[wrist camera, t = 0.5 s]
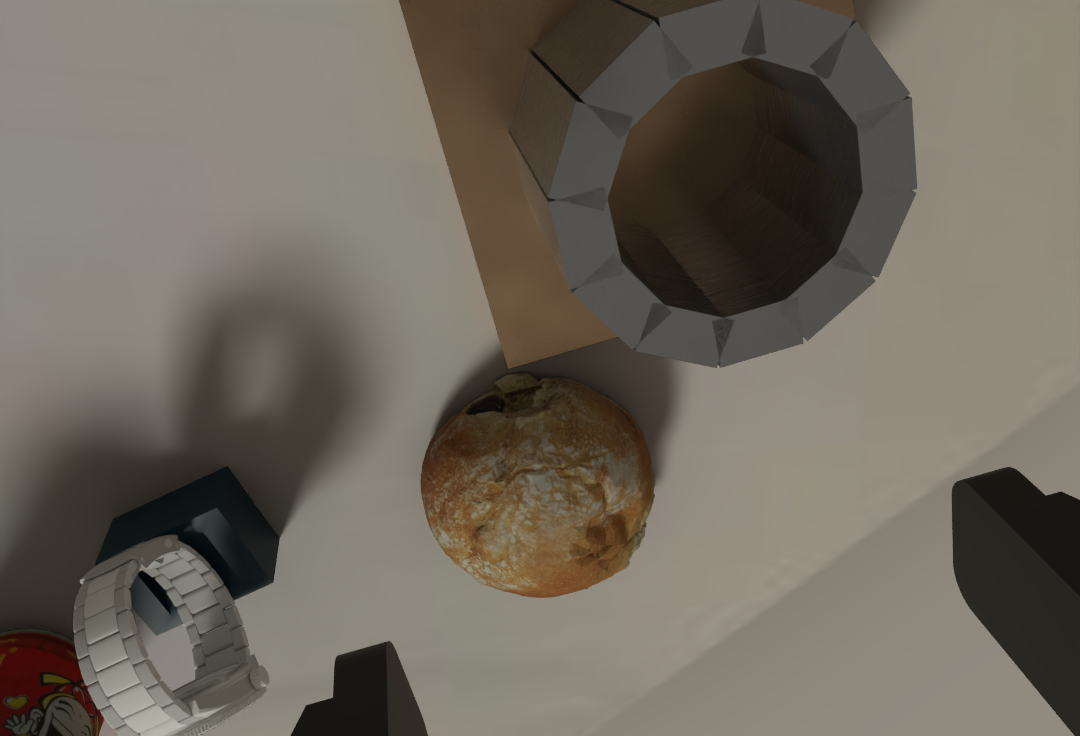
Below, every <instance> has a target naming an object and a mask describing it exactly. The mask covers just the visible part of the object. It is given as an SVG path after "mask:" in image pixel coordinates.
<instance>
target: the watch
mask: <svg viewBox="0 0 1080 736" xmlns="http://www.w3.org/2000/svg"><path fill="white" fill-rule="evenodd" d="M279 539H280V538H279V537H278V536H277V534H276V533H275V532H274V530H273V529H272V527H271V526H270V525H269V523H268V522H267V520H266V519H265V518H264V516H263V515H262V514H261V512H260V511H259V509H258V508H257V507H256V505H255V504H254V502H253V501H252V500H251V498H250V497H249V496H248V494H247V493H246V491H245V490H244V489H243V487H242V486H241V484H240V483H239V482H238V480H237V479H236V478H235V476H234V475H233V473H232V472H231V471H230V469H229V468H228V466H227V467H225V468H223V469H221V470H218V471H216V472H214V473H212V474H210V475H208V476H206V477H203V478H201V479H199V480H197V481H195V482H193V483H190V484H188V485H186V486H184V487H182V488H180V489H177V490H175V491H173V492H171V493H169V494H167V495H165V496H162V497H160V498H158V499H156V500H154V501H152V502H149V503H147V504H145V505H143V506H141V507H139V508H137V509H134V510H132V511H130V512H128V513H126V514H124V515H121V516H119V517H117V518H115V519H113V521H112V524H111V526H110V528H109V531H108V533H107V536H106V538H105V541H104V543H103V546H102V548H101V550H100V553H99V555H98V558H97V560H96V563H95V565H96V566H95V567H94V568H92V569H91V570H90V571H89V572H88V573H86V574H85V575H84V576H83V577H82V578H81V579H80V583H81V584H82V586H81V587H80V589H79V593H78V595H77V597H76V601H75V605H74V608H75V610H74V617H73V629H74V633H76V634H75V635H74V640H75V647H76V653H77V657H78V659H81V660H79V667H80V670H81V674H82V677H83V679H84V682H85V684H86V685H87V686H88V685H90V684H92V683H94V684H92V685H90V686H88V691H89V693H90V695H91V697H92V699H93V701H94V703H95V705H96V707H97V708H98V709H99V710H100V709H101V710H100V712H101V714H102V715H103V717H104V718H105V720H106V721H107V722H108V724H109V725H110V726H111V727H112V728H113V729H115V728H116V729H115V730H116V732H117V733H118V736H200V735H202V734H204V733H206V732H207V731H209V730H211V729H213V728H215V727H217V726H218V725H220V724H222V723H224V722H225V721H227V720H229V719H230V718H232V717H234V716H235V715H237V714H238V713H240V712H241V711H243V710H244V709H246V708H247V707H249V706H250V705H252V704H253V703H255V702H256V701H257V700H258V699H259V698H261V697H262V696H263V694H264V693H265V692H266V690H267V689H266V687H265V686H267V685H268V684H269V675H268V672H267V671H266V669H265V668H264V667H263V666H258V662H257V660H256V658H255V655H254V654H253V655H251V656H250V651H249V648H247V647H249V644H248V640H247V636H246V633H245V630H244V627H240V626H243V622H242V620H241V617H240V614H239V612H238V610H237V608H236V606H235V605H234V604H235V602H234V600H236V599H238V598H240V597H243V596H245V595H247V594H249V593H251V592H254V591H256V590H258V589H260V588H262V587H265V586H267V585H269V584H271V583H273V581H274V574H275V567H276V560H277V553H278V546H279ZM232 605H234V606H232ZM230 606H232V607H230ZM227 607H230V608H227ZM132 608H133V609H134V610H135V611H136V612H137V613H138V615H139V616H140V617H141V618H142V619H143V620H144V622H145V623H146V624H147V625H148V626H149V627H150V629H151V630H152V631H153V632H154V633H155V634H156V636H157V635H159V634H161V633H164V632H166V631H168V630H170V629H172V628H175V627H177V626H179V625H181V624H184V625H185V626H188V625H190V624H192V623H194V622H195V623H194V624H192V625H190V626H188V627H187V628H186V631H187V634H188V638H189V641H190V645H191V646H192V647H195V648H193V649H192V653H193V659H194V666H195V668H196V670H195V680H193V681H191V682H189V683H187V684H185V685H184V686H182V687H180V688H178V689H176V690H174V691H171V690H170V689H169V688H168V686H167V685H166V684H165V683H164V682H163V681H160V675H159V674H158V672H157V671H156V669H155V667H154V666H153V664H152V662H151V661H150V660H149V659H147V660H145V659H146V658H147V657H148V654H147V651H146V649H145V647H144V645H143V642H142V640H141V638H140V636H139V635H136V634H137V633H138V630H137V627H136V624H135V620H134V616H133V613H132V612H131V611H129V610H131V609H132ZM225 608H227V609H225ZM226 624H227V625H226ZM223 625H225V626H223ZM221 626H223V627H221ZM219 627H221V628H219ZM238 627H239V628H238ZM217 628H219V629H217ZM236 628H237V629H236ZM215 629H216V630H215ZM234 629H235V630H234ZM212 630H214V631H212ZM210 631H212V632H210ZM119 632H120V633H119ZM208 632H210V633H208ZM116 633H117V634H116ZM206 633H208V634H206ZM114 634H115V635H114ZM204 634H205V635H204ZM112 635H113V636H112ZM133 635H134V636H133ZM110 636H111V637H110ZM131 636H132V637H131ZM108 637H109V638H108ZM105 638H106V639H105ZM103 639H104V640H103ZM101 640H102V641H101ZM99 641H100V642H99ZM97 642H98V643H97ZM92 644H93V645H92ZM201 644H202V645H201ZM198 645H200V646H198ZM196 646H197V647H196ZM87 656H88V657H87ZM85 657H86V658H85ZM126 658H129V659H126ZM124 659H126V660H124ZM122 660H124V661H122ZM143 660H145V661H143ZM120 661H122V662H120ZM141 661H142V662H141ZM118 662H120V663H118ZM139 662H140V663H139ZM115 663H118V664H115ZM137 663H138V664H137ZM113 664H115V665H113ZM111 665H113V666H111ZM109 666H111V667H109ZM107 667H109V668H107ZM104 668H107V669H104ZM102 669H104V670H102ZM100 670H102V671H100ZM97 681H98V682H97ZM95 682H96V683H95Z"/></svg>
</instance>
